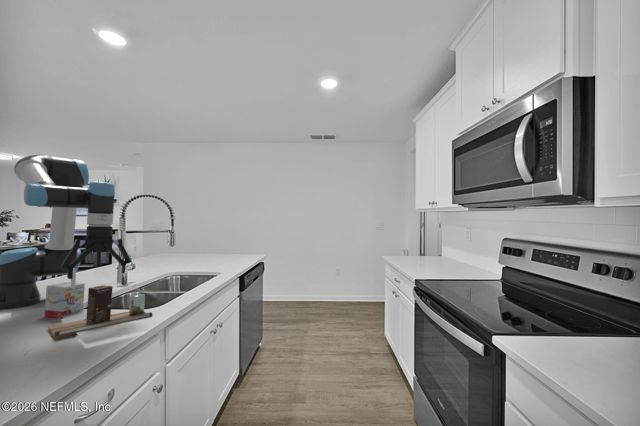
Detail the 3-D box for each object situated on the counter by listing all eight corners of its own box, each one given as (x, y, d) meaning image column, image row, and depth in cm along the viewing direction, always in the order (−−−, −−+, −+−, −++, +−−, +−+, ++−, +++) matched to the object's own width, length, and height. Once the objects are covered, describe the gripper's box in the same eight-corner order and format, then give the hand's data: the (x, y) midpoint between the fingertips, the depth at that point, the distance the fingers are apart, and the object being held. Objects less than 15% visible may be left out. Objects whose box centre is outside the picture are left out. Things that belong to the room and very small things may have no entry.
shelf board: (48, 330, 102) (48, 322, 102) (140, 312, 123) (140, 306, 123) (55, 340, 94) (55, 332, 94) (152, 319, 115) (152, 312, 115)
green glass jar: (127, 313, 117) (127, 295, 117) (141, 310, 121) (142, 293, 121) (131, 316, 114) (132, 297, 114) (146, 313, 118) (146, 295, 118)
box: (95, 324, 105) (96, 289, 105) (85, 322, 106) (87, 288, 107) (111, 319, 111) (113, 285, 111) (102, 317, 112) (104, 284, 112)
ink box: (62, 318, 113) (63, 286, 113) (43, 316, 115) (45, 285, 115) (84, 312, 122) (85, 282, 122) (66, 310, 123) (68, 281, 124)
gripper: (56, 226, 97) (52, 293, 96) (142, 226, 115) (139, 282, 115) (51, 224, 101) (48, 288, 101) (135, 225, 120) (132, 279, 120)
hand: (97, 285), depth 108 cm, fingers open, 13 cm apart
